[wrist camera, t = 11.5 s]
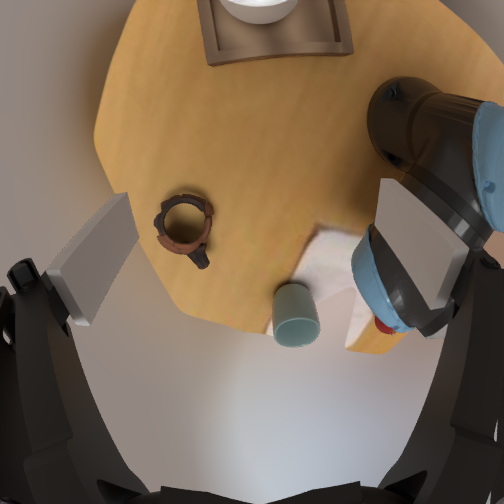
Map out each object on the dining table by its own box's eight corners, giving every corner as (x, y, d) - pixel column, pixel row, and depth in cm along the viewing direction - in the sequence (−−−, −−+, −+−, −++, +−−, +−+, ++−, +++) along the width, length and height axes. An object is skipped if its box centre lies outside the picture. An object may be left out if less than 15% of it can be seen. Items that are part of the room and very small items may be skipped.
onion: (393, 293, 52) (407, 321, 45) (395, 310, 55) (407, 337, 48) (369, 303, 53) (380, 332, 46) (372, 319, 56) (382, 347, 49)
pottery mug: (146, 217, 43) (138, 216, 35) (193, 185, 44) (195, 177, 36) (186, 275, 46) (188, 287, 38) (232, 244, 47) (242, 248, 39)
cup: (308, 307, 53) (315, 347, 45) (269, 307, 53) (271, 348, 45) (314, 277, 49) (325, 317, 41) (272, 276, 49) (275, 318, 41)
